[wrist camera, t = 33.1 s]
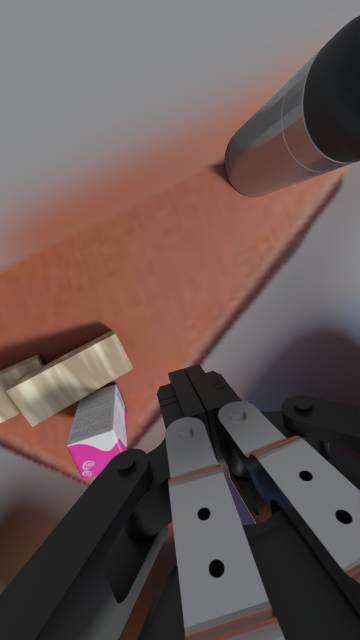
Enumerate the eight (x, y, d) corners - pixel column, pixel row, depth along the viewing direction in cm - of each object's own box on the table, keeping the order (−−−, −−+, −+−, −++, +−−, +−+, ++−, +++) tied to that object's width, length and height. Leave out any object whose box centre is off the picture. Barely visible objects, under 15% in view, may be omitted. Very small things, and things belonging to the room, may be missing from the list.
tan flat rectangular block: (115, 333, 38) (6, 391, 34) (133, 368, 40) (32, 427, 36) (112, 330, 41) (8, 383, 36) (129, 363, 43) (33, 418, 38)
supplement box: (78, 394, 42) (64, 445, 31) (116, 381, 43) (115, 427, 32) (91, 424, 44) (82, 482, 33) (127, 412, 45) (130, 465, 34)
